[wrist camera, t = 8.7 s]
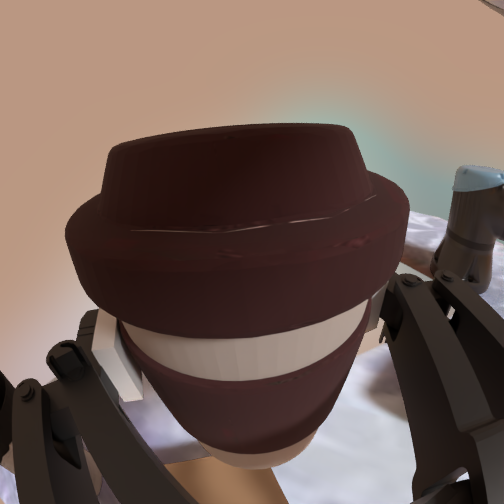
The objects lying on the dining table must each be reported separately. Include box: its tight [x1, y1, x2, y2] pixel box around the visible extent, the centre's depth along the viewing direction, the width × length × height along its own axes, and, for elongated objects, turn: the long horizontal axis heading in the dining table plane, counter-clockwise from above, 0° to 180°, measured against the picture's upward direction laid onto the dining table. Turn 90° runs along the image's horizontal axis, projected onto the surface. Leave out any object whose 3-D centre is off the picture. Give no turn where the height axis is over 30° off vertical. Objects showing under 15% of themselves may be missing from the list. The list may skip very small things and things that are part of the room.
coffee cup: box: [65, 123, 410, 469], centre depth 11 cm, size 10×10×15 cm
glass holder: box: [0, 371, 102, 496], centre depth 14 cm, size 9×14×15 cm, turn 69°
